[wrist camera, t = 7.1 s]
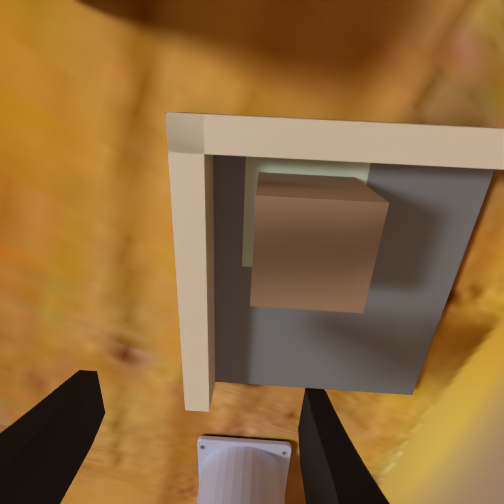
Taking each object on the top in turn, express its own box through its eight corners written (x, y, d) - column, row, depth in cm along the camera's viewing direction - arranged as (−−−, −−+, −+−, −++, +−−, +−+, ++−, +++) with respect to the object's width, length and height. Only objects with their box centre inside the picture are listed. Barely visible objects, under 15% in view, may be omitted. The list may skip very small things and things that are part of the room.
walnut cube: (338, 262, 18) (362, 313, 14) (254, 257, 18) (250, 305, 14) (354, 177, 16) (389, 202, 11) (258, 171, 16) (255, 195, 12)
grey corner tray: (407, 385, 23) (428, 427, 20) (195, 371, 23) (185, 409, 20) (498, 127, 15) (554, 131, 12) (184, 112, 16) (165, 112, 13)
